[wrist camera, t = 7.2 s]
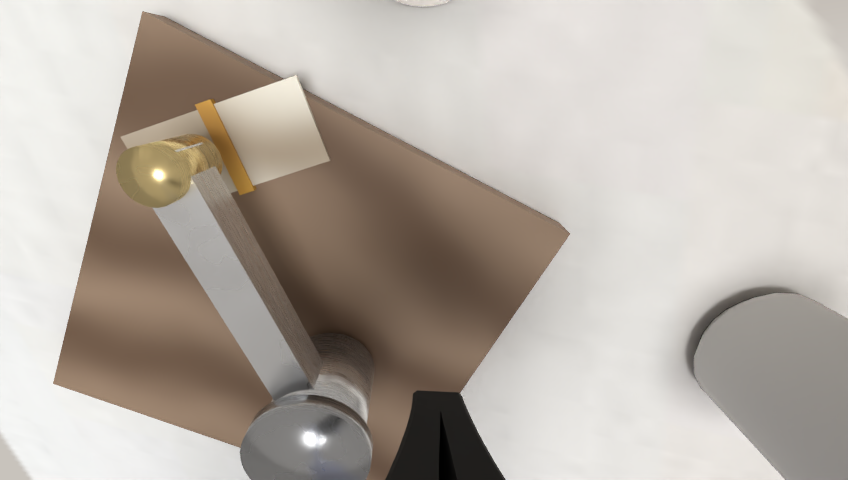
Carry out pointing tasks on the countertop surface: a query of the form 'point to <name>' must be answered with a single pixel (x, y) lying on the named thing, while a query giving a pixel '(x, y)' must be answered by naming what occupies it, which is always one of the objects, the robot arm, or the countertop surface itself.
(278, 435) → the grey bar with knobs
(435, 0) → the beer glass
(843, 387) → the can
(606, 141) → the countertop surface
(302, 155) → the brown flat wooden board
